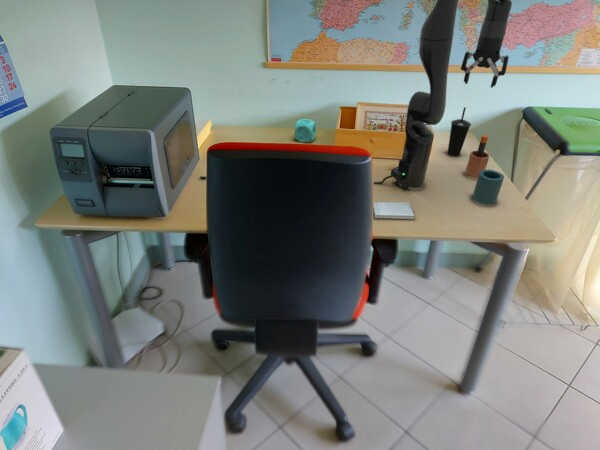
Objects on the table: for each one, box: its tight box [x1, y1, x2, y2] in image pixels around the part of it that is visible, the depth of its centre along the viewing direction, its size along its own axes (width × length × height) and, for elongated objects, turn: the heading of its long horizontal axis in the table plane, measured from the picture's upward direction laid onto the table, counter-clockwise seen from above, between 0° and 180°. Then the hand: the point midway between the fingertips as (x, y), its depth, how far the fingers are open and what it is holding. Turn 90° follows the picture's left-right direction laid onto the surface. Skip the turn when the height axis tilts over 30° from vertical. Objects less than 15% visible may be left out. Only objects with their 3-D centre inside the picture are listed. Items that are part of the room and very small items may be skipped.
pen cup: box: [464, 150, 490, 179], centre depth 153 cm, size 7×7×9 cm
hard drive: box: [372, 201, 415, 220], centre depth 133 cm, size 2×8×12 cm
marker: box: [476, 134, 489, 158], centre depth 151 cm, size 2×2×15 cm
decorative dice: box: [294, 118, 317, 143], centre depth 181 cm, size 8×8×8 cm
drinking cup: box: [447, 107, 472, 157], centre depth 166 cm, size 8×8×20 cm
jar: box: [472, 169, 505, 205], centre depth 137 cm, size 8×8×10 cm
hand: (478, 85), depth 141 cm, fingers open, 8 cm apart
